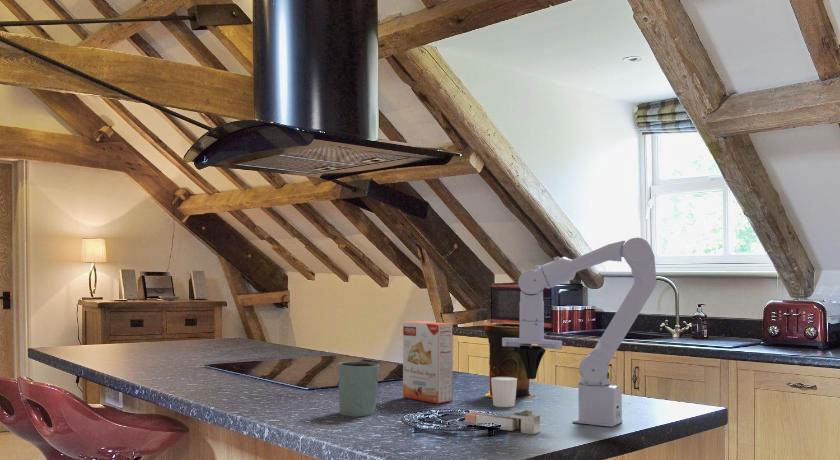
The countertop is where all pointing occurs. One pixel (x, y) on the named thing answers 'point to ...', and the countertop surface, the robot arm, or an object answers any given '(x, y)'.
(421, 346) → the cracker box
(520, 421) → the lock bolt
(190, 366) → the countertop surface
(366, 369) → the green cup
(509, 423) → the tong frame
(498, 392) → the white tapered cup
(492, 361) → the vessel
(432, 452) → the countertop surface
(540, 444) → the countertop surface
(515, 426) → the bar
